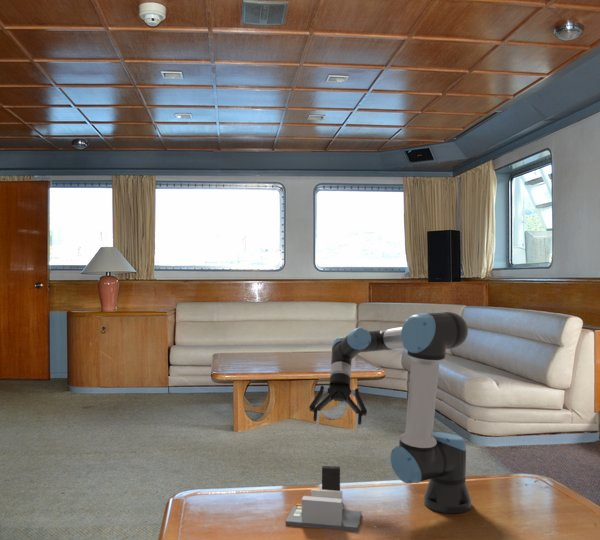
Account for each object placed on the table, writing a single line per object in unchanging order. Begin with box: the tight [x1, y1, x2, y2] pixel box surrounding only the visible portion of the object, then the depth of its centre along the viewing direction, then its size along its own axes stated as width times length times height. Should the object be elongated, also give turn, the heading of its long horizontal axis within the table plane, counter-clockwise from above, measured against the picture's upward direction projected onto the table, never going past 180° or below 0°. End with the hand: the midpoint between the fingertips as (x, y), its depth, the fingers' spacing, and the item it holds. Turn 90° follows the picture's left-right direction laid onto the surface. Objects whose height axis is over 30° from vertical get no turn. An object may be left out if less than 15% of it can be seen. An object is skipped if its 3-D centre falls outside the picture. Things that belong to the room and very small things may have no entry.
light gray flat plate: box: [295, 488, 343, 507], centre depth 194 cm, size 15×1×6 cm, turn 78°
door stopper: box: [321, 465, 341, 491], centre depth 203 cm, size 9×6×12 cm, turn 175°
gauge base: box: [285, 495, 363, 532], centre depth 189 cm, size 22×12×8 cm, turn 78°
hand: (336, 431), depth 209 cm, fingers open, 13 cm apart
